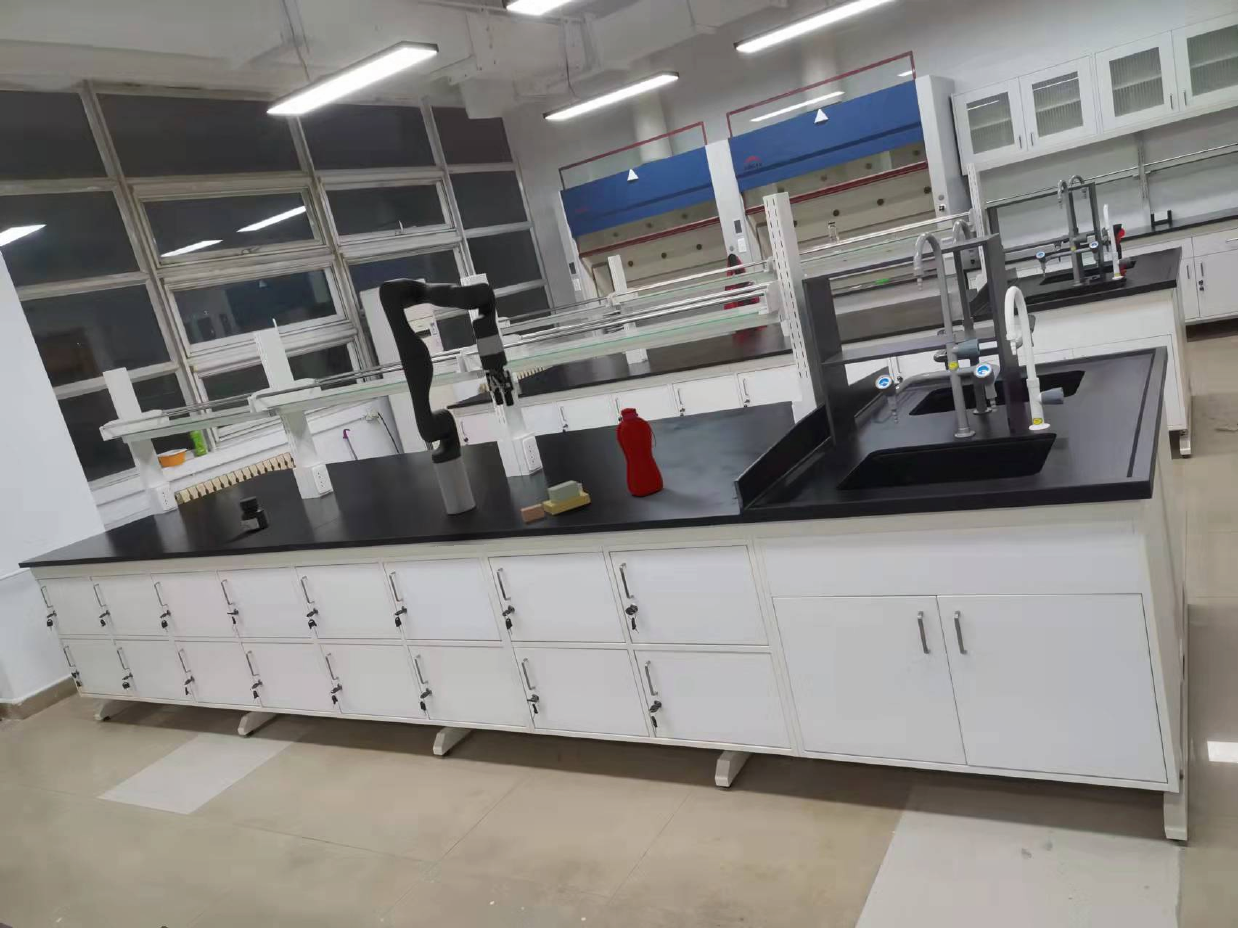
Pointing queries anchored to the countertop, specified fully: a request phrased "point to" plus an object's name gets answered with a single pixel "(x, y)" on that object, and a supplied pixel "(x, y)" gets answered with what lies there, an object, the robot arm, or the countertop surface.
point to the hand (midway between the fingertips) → (505, 405)
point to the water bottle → (638, 454)
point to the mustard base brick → (566, 503)
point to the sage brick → (563, 491)
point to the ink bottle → (252, 514)
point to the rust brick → (532, 512)
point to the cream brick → (580, 487)
